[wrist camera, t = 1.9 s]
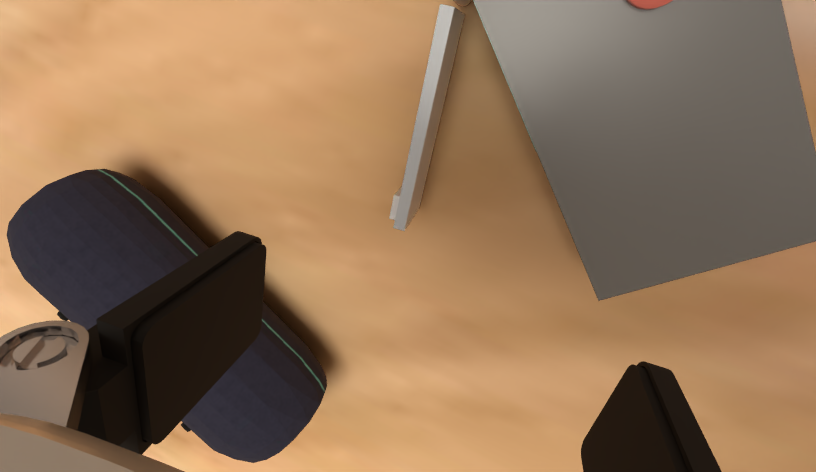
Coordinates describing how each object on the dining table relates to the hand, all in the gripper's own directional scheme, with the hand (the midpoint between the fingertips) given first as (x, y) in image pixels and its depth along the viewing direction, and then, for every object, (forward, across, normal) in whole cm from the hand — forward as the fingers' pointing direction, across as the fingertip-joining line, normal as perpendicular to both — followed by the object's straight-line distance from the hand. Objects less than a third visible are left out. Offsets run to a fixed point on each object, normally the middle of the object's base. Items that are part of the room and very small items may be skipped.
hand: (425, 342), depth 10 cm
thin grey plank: (+18, +4, -2) cm, 19 cm away
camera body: (+18, -7, -6) cm, 20 cm away
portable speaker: (+19, +19, +17) cm, 31 cm away
